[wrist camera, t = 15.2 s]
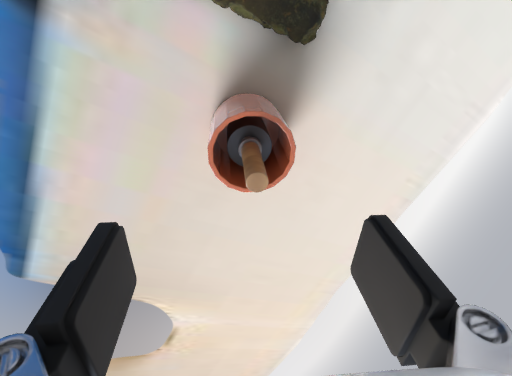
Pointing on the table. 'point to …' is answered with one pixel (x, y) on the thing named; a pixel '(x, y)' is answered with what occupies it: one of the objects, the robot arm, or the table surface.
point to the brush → (250, 149)
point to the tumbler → (278, 133)
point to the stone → (283, 15)
